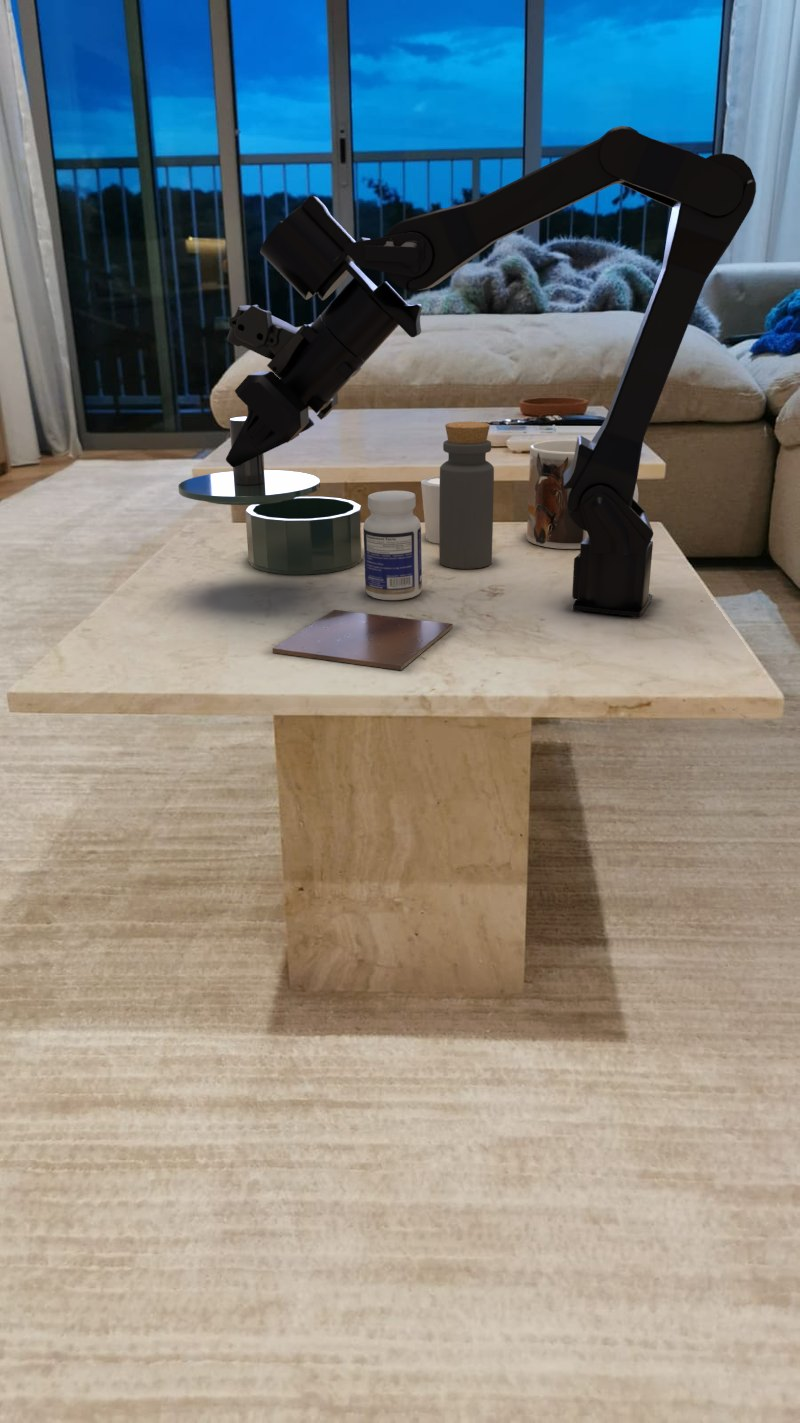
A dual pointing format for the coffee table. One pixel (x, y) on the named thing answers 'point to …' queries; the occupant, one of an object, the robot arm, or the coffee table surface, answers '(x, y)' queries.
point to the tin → (304, 535)
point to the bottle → (466, 497)
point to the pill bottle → (392, 546)
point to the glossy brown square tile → (364, 639)
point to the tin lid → (248, 482)
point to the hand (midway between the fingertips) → (234, 460)
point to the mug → (552, 496)
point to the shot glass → (431, 507)
